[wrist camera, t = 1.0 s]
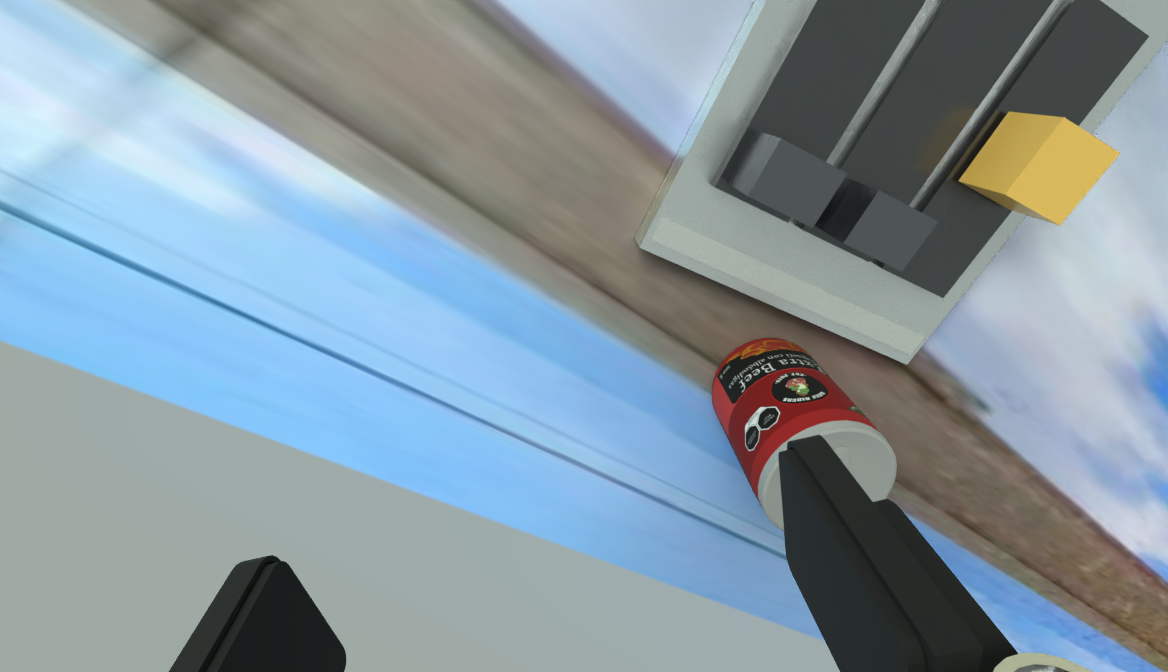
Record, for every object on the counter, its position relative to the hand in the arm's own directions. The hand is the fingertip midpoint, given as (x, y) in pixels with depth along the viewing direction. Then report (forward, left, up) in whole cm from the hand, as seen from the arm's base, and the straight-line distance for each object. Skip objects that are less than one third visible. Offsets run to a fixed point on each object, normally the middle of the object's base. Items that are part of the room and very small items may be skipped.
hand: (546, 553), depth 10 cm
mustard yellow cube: (-14, +22, -23) cm, 35 cm away
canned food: (+5, +19, -26) cm, 33 cm away
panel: (-14, +16, -26) cm, 34 cm away
